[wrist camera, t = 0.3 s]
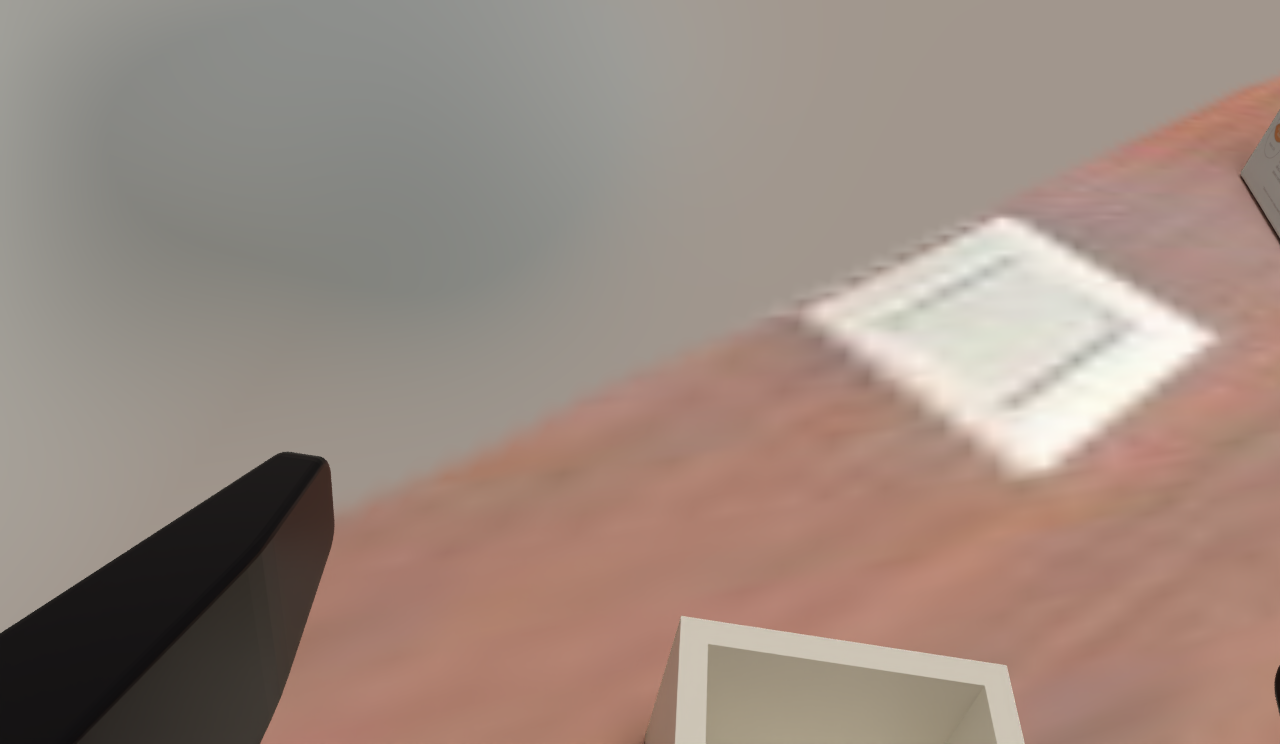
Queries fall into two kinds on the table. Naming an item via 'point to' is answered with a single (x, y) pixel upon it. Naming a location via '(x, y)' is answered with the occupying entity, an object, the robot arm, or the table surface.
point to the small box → (1266, 173)
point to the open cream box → (823, 692)
